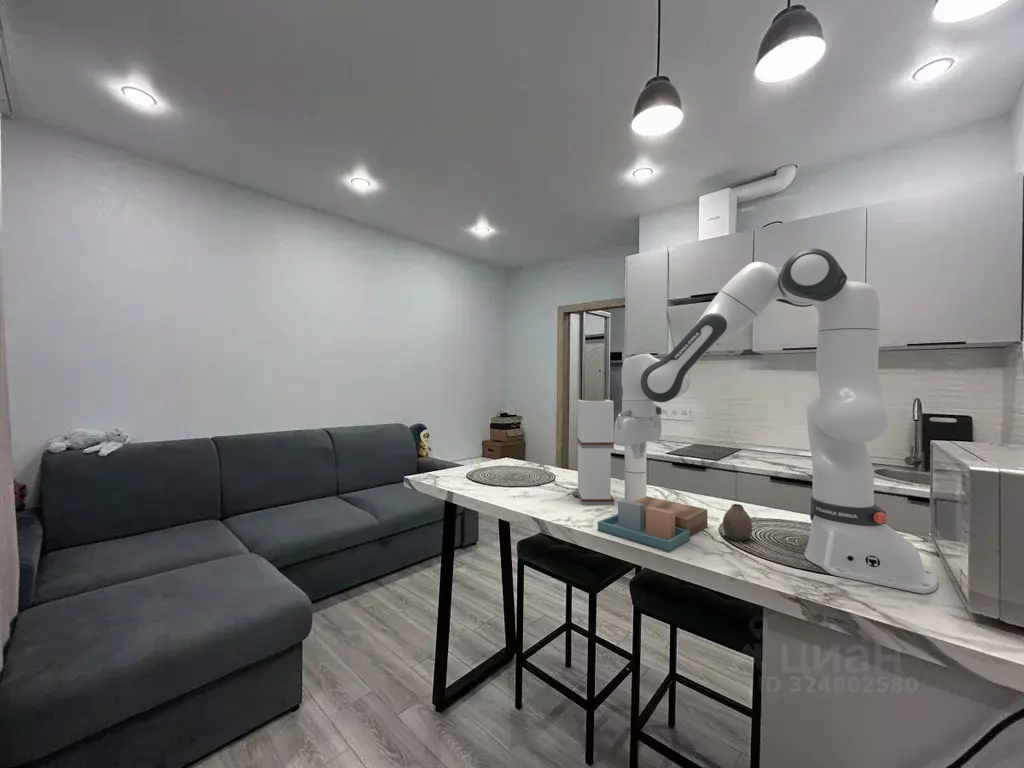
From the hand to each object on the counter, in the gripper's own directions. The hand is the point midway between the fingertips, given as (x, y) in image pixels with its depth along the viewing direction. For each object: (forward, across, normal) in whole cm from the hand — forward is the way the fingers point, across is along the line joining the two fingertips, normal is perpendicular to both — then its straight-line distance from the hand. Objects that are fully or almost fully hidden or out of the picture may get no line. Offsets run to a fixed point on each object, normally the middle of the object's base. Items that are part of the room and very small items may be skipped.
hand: (638, 458), depth 121 cm
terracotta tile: (+16, -3, -8) cm, 18 cm away
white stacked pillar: (+20, +12, +24) cm, 34 cm away
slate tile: (+16, -2, +1) cm, 16 cm away
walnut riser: (+20, +7, -4) cm, 21 cm away
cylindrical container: (+20, +20, +13) cm, 31 cm away
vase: (+20, +10, -23) cm, 32 cm away
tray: (+20, -6, -4) cm, 21 cm away
